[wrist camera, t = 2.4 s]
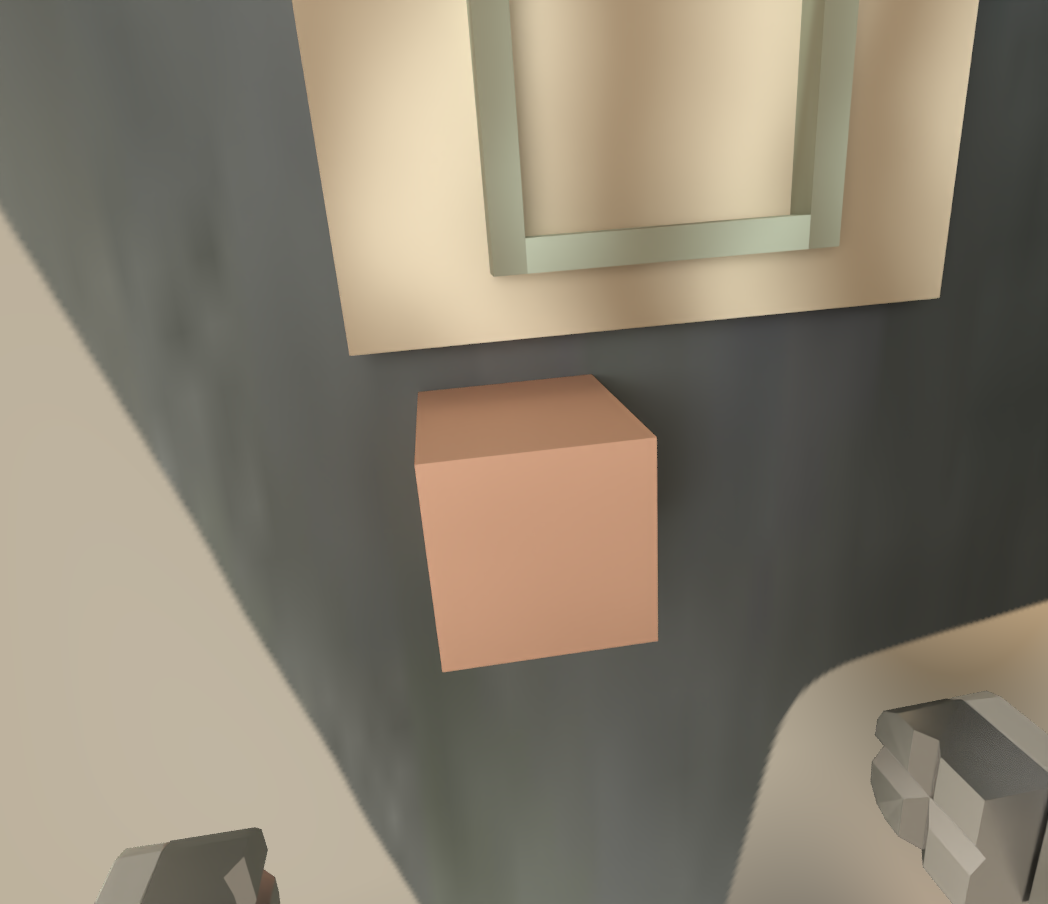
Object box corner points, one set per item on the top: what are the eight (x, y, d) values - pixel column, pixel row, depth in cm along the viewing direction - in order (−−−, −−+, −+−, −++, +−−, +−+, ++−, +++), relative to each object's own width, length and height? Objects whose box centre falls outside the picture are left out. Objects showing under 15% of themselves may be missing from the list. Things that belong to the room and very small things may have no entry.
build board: (962, -226, 16) (1055, -302, 14) (903, 291, 20) (966, 302, 18) (266, -218, 14) (234, -303, 12) (355, 345, 18) (345, 364, 16)
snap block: (591, 373, 20) (657, 437, 14) (597, 529, 21) (657, 640, 16) (418, 391, 19) (414, 464, 14) (438, 549, 21) (442, 672, 15)
